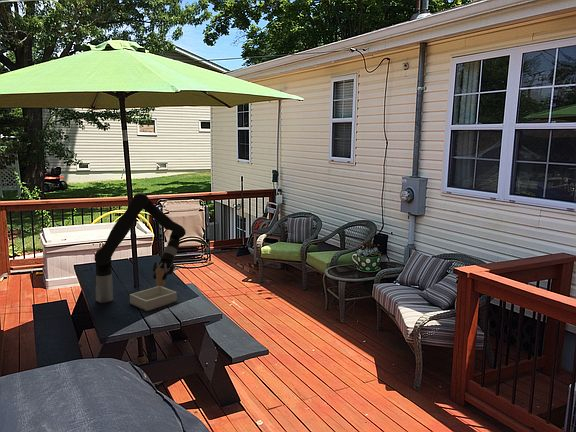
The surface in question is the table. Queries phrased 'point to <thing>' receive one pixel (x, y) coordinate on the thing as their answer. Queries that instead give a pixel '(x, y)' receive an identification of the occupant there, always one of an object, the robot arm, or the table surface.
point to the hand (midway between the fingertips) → (158, 279)
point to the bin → (153, 298)
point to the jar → (160, 277)
